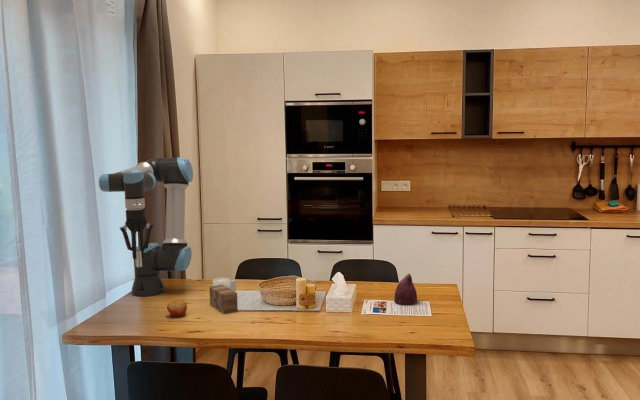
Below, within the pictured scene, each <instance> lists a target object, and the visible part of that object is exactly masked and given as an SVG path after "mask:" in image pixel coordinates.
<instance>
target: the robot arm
mask: <svg viewBox="0 0 640 400" xmlns="http://www.w3.org/2000/svg"><path fill="white" fill-rule="evenodd" d="M193 170H194V169H193V166H192V163H191V161H190V160H189V159H188V158H186V157H179V156H177V157H156V158H150V159H147V160H145V161H142V162H139V163H137V164H135V166H132V167H130V168H128V169H123V170H120V171H118V172H114V173H102V174H100V175H99V179H98V187H99V189H100V191H101V192H106V193H107V192H108V193H112V192H113V193H114V192H119V193H121V192H122V193H123V192H124V205H125V209H126V210H125V223H124V225H123V226H119V231H121V233H122V236H123V239H124V242H125V245H126V248H127V250H129V251H131V253H132V259H133V269H134V271H133V272H134V279H133V284H132V287H131V294H132V296H136V297H149V296H157V295H160V294H163V293H164V292H165V284H164V282H163V279H162V276H161V272H180V271H181V272H184V271H186V270H188V268H189V266H190V265H191V264H190V263H191V260H192V255H193V254H192V248H191V246H189V245H188V241H186V239H185V226H186V225H185V222H186V221H185V218H186V217H185V216H186V214H185V213H186V212H185V211H186V189H187V188H188V187H190V185H189V183H190V182H192V181H193V178H194V172H193ZM157 183H163V186H164V188H166V209H165V210H166V211H165V212H166V216H165V217H166V218H165V239H164V240H163V241H162V245H161V246H160V244H159V243H158V242H150V237H151V234H152V233H151V231H152V229H153V227H154V225H153V224H151V223H148V220H147V216H146V203H145V192H149V191H151V190H153V189H154V188H155V187H156V184H157ZM145 228H146V229H145ZM144 229H145V234H144V231H143V230H144ZM128 230H129V231H130V235H131V236H130V237H131V241H130V237H129V234H128ZM143 234H144V235H145V236H144V235H143ZM137 237H138V245H137Z"/></svg>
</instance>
